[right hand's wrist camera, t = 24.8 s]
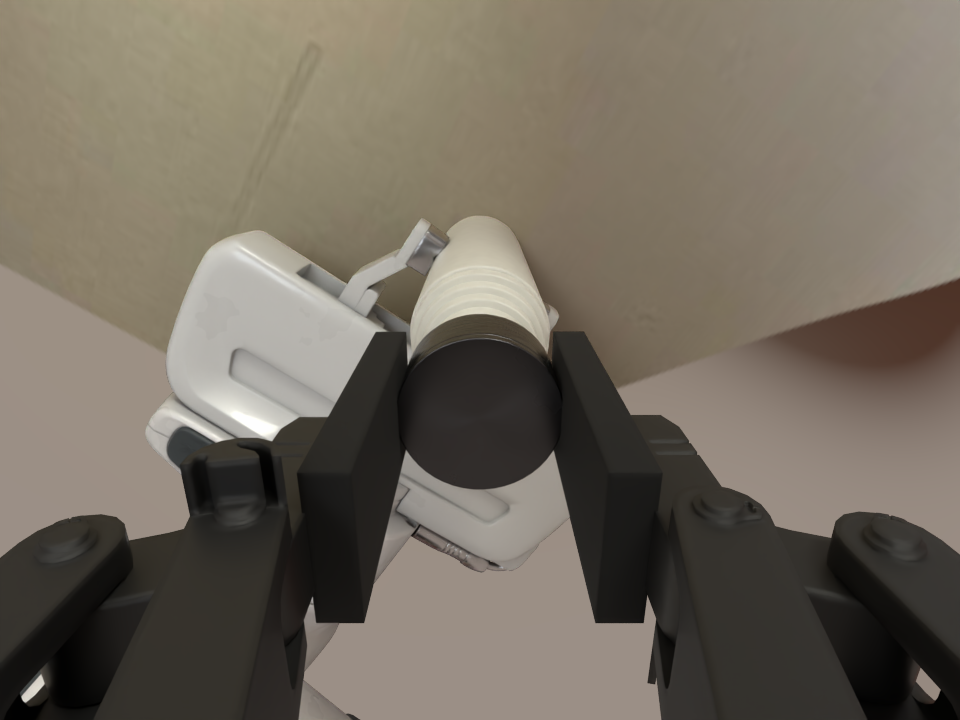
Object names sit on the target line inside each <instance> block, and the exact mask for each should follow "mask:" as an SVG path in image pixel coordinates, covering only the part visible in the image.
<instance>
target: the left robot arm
mask: <svg viewBox="0 0 960 720" xmlns="http://www.w3.org/2000/svg"><path fill="white" fill-rule="evenodd" d="M448 240H449V236H448V235H446V234H445V233H443V232H442V231H441V230H439V229H438V228H436V227H435V226H434V225H432V224H431V223H429V222H428V221H426V220H425V219H423V218H421V219H420V220H419V222H418V223H417V225H416V226H415V228H414V229H413V231H412V232H411V234H410V235H409V237H408V239H407V240H406V242H405V243H404V245H403V246H402V248H401V250H400V249H397V250H395V251H393V252H391V253H389V254H387V255H385V256H383V257H381V258H379V259H377V260H375V261H373V262H371V263H369V264H367V265H365V266H363V267H361V268H360V269H359V270H358V271H357V272H356V273H355V274H354V275H353V276H352V278H351V279H350V281H349V282H348V284H346V283H345V282H343V281H342V280H340V279H338V278H337V277H335V276H334V275H332V274H331V273H329V272H327V271H326V270H324V269H323V268H321V267H320V266H318V265H316V264H315V263H313V262H312V261H310V260H309V259H307V258H305V257H304V256H302V255H301V254H299V253H298V252H296V251H294V250H293V249H291V248H290V247H288V246H287V245H285V244H283V243H282V242H280V241H279V240H277V239H276V238H274V237H273V236H271V235H270V234H268V233H266V232H264V231H260V230H254V231H249V232H245V233H240V234H236V235H233V236H230V237H227V238H225V239H223V240H220V241H219V242H217V243H216V244H214V245H213V246H212V247H211V248H210V249H209V250H208V251H207V252H206V254H205V255H204V257H203V259H202V260H201V262H200V264H199V266H198V268H197V270H196V272H195V274H194V276H193V279H192V281H191V283H190V285H189V288H188V290H187V292H186V295H185V297H184V300H183V302H182V305H181V308H180V310H179V313H178V316H177V319H176V321H175V325H174V328H173V331H172V334H171V337H170V341H169V344H168V348H167V354H166V374H167V378H168V381H169V384H170V386H171V388H172V390H173V391H174V392H173V393H172V394H171V395H170V396H169V397H168V398H167V399H166V400H165V401H164V402H163V403H162V404H161V406H160V407H159V408H158V409H157V411H156V412H155V413H154V414H153V416H152V417H151V419H150V421H149V422H148V424H147V427H146V431H145V436H146V439H147V441H148V443H149V444H150V446H151V447H152V448H153V449H154V450H155V451H156V452H157V453H158V454H159V455H160V456H161V457H162V458H163V459H164V460H165V461H167V462H168V463H169V464H170V465H171V466H172V467H173V468H174V469H175V470H176V471H178V472H179V473H180V474H181V470H180V464H181V463H182V462H183V461H184V459H185V458H186V457H187V456H188V455H190V454H192V453H193V452H195V451H197V450H199V449H201V448H202V447H205V446H208V445H211V444H214V443H217V442H220V441H224V440H230V439H236V438H261V439H265V440H269V441H273V439H274V438H275V436H276V435H277V433H278V432H279V431H280V429H281V428H283V427H284V426H286V425H288V424H289V423H291V422H292V421H294V420H295V419H297V418H299V417H328V416H329V414H330V412H331V411H332V409H333V407H334V405H335V404H336V402H337V400H338V398H339V396H340V395H341V393H342V391H343V389H344V387H345V386H346V384H347V382H348V380H349V379H350V377H351V375H352V373H353V371H354V370H355V368H356V366H357V364H358V363H359V361H360V359H361V357H362V355H363V354H364V352H365V350H366V348H367V346H368V345H369V343H370V341H371V339H372V338H373V336H374V334H375V332H406V336H407V358H408V364H409V361H410V359H411V356H412V354H413V353H412V348H411V338H410V325H411V324H409V323H408V322H406V321H404V320H403V319H401V318H400V317H398V316H397V315H395V314H393V313H392V312H390V311H389V310H387V309H386V308H384V307H382V306H381V305H379V304H378V303H376V301H377V300H378V298H379V296H380V295H381V293H382V291H383V290H384V288H385V287H386V285H385V283H384V282H383V281H381V280H383V279H385V278H387V277H389V276H391V275H393V274H395V273H397V272H398V271H400V270H402V269H404V268H406V267H408V266H410V267H411V268H413V269H415V270H416V271H418V272H419V273H421V274H422V275H424V276H425V275H426V274H427V272H428V271H429V270H430V268H431V267H432V264H433V262H434V260H435V257H436V256H437V255H439V254H440V252H441V251H442V250H443V248H444V247H445V245H446V243H447V242H448ZM414 250H415V251H414ZM542 301H543V300H542ZM543 304H544V306H545V309H546V312H547V315H548V319H549V325H550V331H551V330H552V329H553V327H554V326H555V325H556V323H557V321H558V319H559V314H558V312H557V310H556V309H555V308H553V307H552V306H550V305H549V304H548V303H546V302H545V301H543ZM569 518H570V516H569V512H568V507H567V503H566V499H565V495H564V491H563V487H562V483H561V479H560V474H559V470H558V466H557V462H556V458H555V454H554V450H553V452H552V453H551V455H550V456H549V457H548V459H547V460H546V461H545V462H544V463H543V464H542V465H541V466H540V467H539V468H538V469H537V470H536V471H534V472H533V473H532V474H530V475H529V476H527V477H525V478H524V479H522V480H520V481H518V482H515V483H513V484H510V485H507V486H504V487H499V488H495V489H485V490H474V489H466V488H460V487H456V486H453V485H450V484H447V483H444V482H442V481H440V480H438V479H436V478H434V477H433V476H431V475H430V474H428V473H427V472H425V471H424V470H423V469H422V468H421V467H420V466H419V465H418V464H417V463H416V462H415V461H414V460H413V459H412V458H411V456H410V455H409V453H408V452H407V450H406V452H405V456H404V460H403V465H402V469H401V473H400V477H399V481H398V485H397V489H396V493H395V498H394V502H393V506H392V510H391V514H390V518H389V522H388V527H387V531H386V535H385V539H384V543H383V547H382V551H381V555H380V560H379V564H378V568H377V572H376V576H375V580H374V583H375V581H376V580H377V579H378V577H379V576H380V575H381V574H382V572H383V571H384V570H385V568H386V567H387V566H388V565H389V563H390V562H391V561H392V559H393V558H394V557H395V556H396V554H397V553H398V552H399V550H400V549H401V548H402V546H403V545H404V544H405V543H406V541H407V540H408V539H409V537H410V536H412V537H414V538H415V539H417V540H419V541H421V542H423V543H424V544H426V545H428V546H430V547H432V548H434V549H436V550H438V551H441V552H443V553H446V554H448V555H450V556H452V557H454V558H456V559H457V560H459V561H460V563H462V564H463V565H464V566H466V567H468V568H470V569H472V570H475V571H478V572H484V571H485V570H486V569H489V570H494V571H504V570H509V571H512V570H515V569H517V568H518V567H520V566H521V565H522V564H523V563H524V562H525V561H526V559H527V558H528V557H529V556H530V555H531V554H532V553H533V552H534V550H535V549H536V548H537V547H538V545H539V543H540V542H542V541H543V540H544V539H545V538H546V537H548V536H549V535H550V534H551V533H553V532H554V531H555V530H556V529H557V528H558V527H560V526H561V525H562V524H563V523H564V522H565V521H566V520H567V519H569ZM490 561H492V562H490ZM304 625H305V632H306V640H307V652H306V661H305V669H304V671H305V670H306V669H307V668H308V667H309V665H310V664H311V663H312V662H313V661H314V660H315V658H316V657H317V656H318V655H319V653H320V652H321V651H322V650H323V649H324V647H325V646H326V645H327V643H328V642H329V641H330V639H331V638H332V636H333V635H334V633H335V631H336V629H337V627H338V625H339V623H316V619H315V611H314V604H313V597H312V600H311V602H310V605H309V608H308V610H307V613H306V616H305V618H304ZM44 684H45V683H44V680H43V678H42V675H41V672H40V671H39V672H38V673H37V674H36V675H35V676H34V678H33V679H32V680H31V681H30V682H29V683H28V684H27V685H26V686H25V688H24V689H23V690H22V691H21V692H20V695H21V697H22V700H23V701H24V702H25V703H26V702H27V701H28V700H30V699H31V698H32V697H33V696H34V695H36V693H37V692H38V691H39V690H40V689H41V688H42V686H43V685H44ZM299 720H360V719H358V718H357V717H355V716H354V715H351V714H345V713H344V712H342V711H341V710H340V709H339V708H337V707H336V706H335V705H334V704H333V703H331V702H330V701H329V700H328V699H326V698H325V697H324V696H323V695H321V694H320V693H319V692H318V691H316V690H315V689H314V688H313V687H311V686H310V685H309V684H308V683H306V682H305V681H304V680H303V687H302V695H301V704H300V712H299Z"/></svg>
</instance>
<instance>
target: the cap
mask: <svg viewBox="0 0 960 720" xmlns="http://www.w3.org/2000/svg"><path fill="white" fill-rule="evenodd" d="M397 408H398V427H399V435H400V438H401V441H402V443H403V445H404V447H405V449H406V450H407V452H408V453H409V455H410V456H411V458H412V459H413V460H414V461H415V462H416V463H417V464H418V465H419V466H420V467H421V468H422V469H423V470H424V471H425V472H427V473H428V474H430V475H431V476H433V477H434V478H436V479H438V480H440V481H442V482H444V483H447V484H450V485H453V486H456V487H460V488H466V489H474V490H485V489H495V488H499V487H504V486H507V485H510V484H513V483H515V482H518V481H520V480H522V479H524V478H525V477H527V476H529V475H530V474H532V473H533V472H534V471H536V470H537V469H538V468H539V467H540V466H541V465H542V464H543V463H544V462H545V461H546V460H547V459H548V457H549V456H550V455H551V453H552V452H553V450H554V448H555V447H556V445H557V443H558V440H559V438H560V435H561V420H562V395H561V391H560V389H559V385H558V382H557V379H556V376H555V373H554V370H553V367H552V364H551V362H550V359H549V356H548V354H547V352H546V351H545V349H544V347H543V346H542V344H541V343H540V342H539V340H538V339H537V338H536V337H535V336H534V335H533V334H532V333H531V332H529V331H528V330H527V329H526V328H524V327H523V326H521V325H519V324H518V323H516V322H514V321H511V320H509V319H507V318H503V317H500V316H496V315H489V314H472V315H464V316H460V317H456V318H454V319H451V320H448V321H446V322H444V323H442V324H441V325H439V326H437V327H436V328H434V329H433V330H432V331H430V332H429V333H428V334H427V335H426V336H425V337H424V338H423V339H422V340H421V342H420V343H419V344H418V345H417V347H416V349H415V350H414V352H413V354H412V356H411V359H410V361H409V364H408V367H407V370H406V373H405V376H404V379H403V382H402V385H401V388H400V391H399V395H398V399H397Z"/></svg>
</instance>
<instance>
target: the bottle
mask: <svg viewBox="0 0 960 720" xmlns="http://www.w3.org/2000/svg"><path fill="white" fill-rule="evenodd" d="M446 235H448V236H449V240H448V242H447V243H446V245H445V247H444V248H443V250H442V251H441V252H440V254H439V255H437V256H436V257H435V260H434V262H433V264H432V267H431V269H430V271H429V274H428V276H427V279H426V281H425V284H424V286H423V289H422V291H421V294H420V296H419V299H418V301H417V304H416V306H415V308H414V311H413V315H412V318H411V325H410V338H411V348H412V353H413V352H414V350H415V349H416V347H417V345H418V344H419V343H420V342H421V340H422V339H423V338H424V337H425V336H426V335H427V334H428V333H429V332H430V331H432V330H433V329H434V328H436V327H437V326H439V325H441V324H442V323H444V322H446V321H448V320H451V319H454V318H456V317H460V316H464V315H472V314H489V315H496V316H500V317H503V318H507V319H509V320H511V321H514V322H516V323H518V324H519V325H521V326H523V327H524V328H526V329H527V330H528V331H529V332H531V333H532V334H533V335H534V336H535V337H536V338H537V339H538V340H539V342H540V343H541V344H542V346H543V347H544V349H545V351H546V352H547V353H548V348H549V337H550V325H549V319H548V315H547V312H546V309H545V306H544V304H543V301H542V299H541V296H540V294H539V291H538V289H537V286H536V284H535V281H534V279H533V276H532V274H531V272H530V269H529V267H528V264H527V262H526V259H525V257H524V254H523V252H522V249H521V247H520V244H519V242H518V240H517V238H516V236H515V234H514V233H513V231H512V230H511V229H510V228H509V227H508V226H507V225H506V224H504V223H503V222H501V221H499V220H497V219H495V218H492V217H488V216H472V217H468V218H465V219H462V220H461V221H459V222H457V223H456V224H454V225H453V226H452V227H451V228H450V229H449V230H448V231H447V233H446Z"/></svg>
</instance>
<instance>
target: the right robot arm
mask: <svg viewBox="0 0 960 720" xmlns="http://www.w3.org/2000/svg"><path fill="white" fill-rule="evenodd" d="M407 367H408V358H407V336H406V332H375V334H374V336H373V338H372V339H371V341H370V343H369V345H368V346H367V348H366V350H365V352H364V354H363V355H362V357H361V359H360V361H359V363H358V364H357V366H356V368H355V370H354V371H353V373H352V375H351V377H350V379H349V380H348V382H347V384H346V386H345V387H344V389H343V391H342V393H341V395H340V396H339V398H338V400H337V402H336V404H335V405H334V407H333V409H332V411H331V412H330V414H329V416H328V417H299V418H297V419H295V420H294V421H292V422H291V423H289V424H288V425H286V426H284V427H283V428H281V429H280V431H279V432H278V433H277V435H276V436H275V438H274V439H273V441H269V440H265V439H261V438H236V439H230V440H224V441H220V442H217V443H214V444H211V445H208V446H205V447H202V448H201V449H199V450H197V451H195V452H193V453H192V454H190V455H188V456H187V457H186V458H185V459H184V461H183V462H182V463H181V464H180V470H181V475H182V479H183V484H184V489H185V494H186V499H187V503H188V508H189V513H190V518H189V520H188V522H187V524H186V526H185V528H184V529H182V530H178V531H174V532H170V533H166V534H161V535H155V536H150V537H145V538H140V539H135V540H130V541H129V539H128V536H127V532H126V528H125V524H124V523H123V522H122V521H120V520H119V519H118V518H117V517H113V516H107V515H102V514H100V515H87V516H77V517H72V518H71V519H69V518H68V519H64V520H61V521H58V522H56V523H54V524H53V525H50V526H48V527H46V528H43V529H41V530H39V531H37V532H35V533H34V534H32V535H31V536H29V537H27V538H26V539H24V540H23V541H21V542H20V543H18V544H17V545H16V546H15V547H13V548H12V549H11V550H10V551H8V552H7V553H6V554H5V555H3V556H2V557H1V558H0V720H299V712H300V704H301V695H302V687H303V678H304V669H305V661H306V652H307V640H306V632H305V625H304V618H305V616H306V613H307V610H308V608H309V605H310V602H311V600H312V597H313V604H314V611H315V619H316V623H364V621H365V617H366V613H367V609H368V605H369V601H370V597H371V593H372V588H373V584H374V580H375V576H376V572H377V568H378V564H379V560H380V555H381V551H382V547H383V543H384V539H385V535H386V531H387V527H388V522H389V518H390V514H391V510H392V506H393V502H394V498H395V493H396V489H397V485H398V481H399V477H400V473H401V469H402V465H403V460H404V456H405V452H406V449H405V447H404V445H403V443H402V441H401V438H400V435H399V427H398V408H397V399H398V395H399V391H400V388H401V385H402V382H403V379H404V376H405V373H406V370H407ZM552 367H553V370H554V373H555V376H556V379H557V382H558V385H559V389H560V391H561V395H562V420H561V435H560V438H559V440H558V443H557V445H556V447H555V448H554V454H555V458H556V462H557V466H558V470H559V474H560V479H561V483H562V487H563V491H564V495H565V499H566V503H567V507H568V512H569V516H570V520H571V524H572V528H573V532H574V536H575V540H576V544H577V549H578V553H579V557H580V561H581V565H582V569H583V573H584V577H585V582H586V586H587V590H588V594H589V598H590V602H591V606H592V610H593V615H594V619H595V623H644V616H645V608H646V600H647V595H648V598H649V600H650V603H651V606H652V608H653V611H654V614H655V616H656V625H655V633H654V640H653V647H652V654H651V661H650V669H649V676H648V683H650V684H655V682H656V677H657V685H658V694H659V702H660V711H661V719H662V720H960V554H958V553H957V552H956V551H954V550H953V549H952V548H951V547H950V546H948V545H947V544H946V543H944V542H943V541H942V540H941V539H939V538H937V537H936V536H934V535H933V534H931V533H930V532H928V531H926V530H925V529H923V528H921V527H919V526H916V525H914V524H912V523H909V522H907V521H906V520H904V519H902V518H898V517H895V516H889V515H887V514H882V513H869V512H855V513H849V514H844V515H843V516H842V517H840V518H839V519H838V520H837V521H836V522H835V526H834V530H833V534H832V538H828V537H823V536H817V535H812V534H807V533H802V532H797V531H792V530H788V529H784V528H780V527H776V526H775V525H774V523H773V521H772V519H771V517H770V515H769V514H768V512H767V511H766V510H765V509H764V507H763V506H762V505H761V504H760V503H758V502H756V501H755V500H753V499H752V498H750V497H749V496H747V495H745V494H742V493H740V492H737V491H735V490H732V489H729V488H724V487H721V485H720V484H719V482H718V481H717V480H716V478H715V477H714V475H713V474H712V473H711V471H710V470H709V468H708V467H707V466H706V464H705V463H704V461H703V460H702V459H701V457H700V456H699V455H697V451H696V450H695V449H694V447H693V446H692V444H691V443H689V440H688V439H687V437H686V436H685V435H684V433H683V432H682V430H681V429H680V428H679V427H678V426H677V425H675V424H674V423H672V422H670V421H669V420H667V419H666V418H664V417H663V416H661V415H630V413H629V411H628V410H627V408H626V406H625V404H624V402H623V401H622V399H621V397H620V395H619V394H618V392H617V390H616V388H615V386H614V385H613V383H612V381H611V379H610V377H609V376H608V374H607V372H606V370H605V369H604V367H603V365H602V363H601V361H600V360H599V358H598V356H597V354H596V353H595V351H594V349H593V347H592V345H591V344H590V342H589V340H588V338H587V336H586V335H585V333H584V332H553V350H552ZM920 668H922V669H923V671H924V672H925V673H926V674H927V675H928V676H929V677H930V678H931V679H932V680H933V682H934V683H935V684H936V685H937V686H938V687H939V688H940V689H941V691H940V693H939V696H938V698H937V699H936V701H935V700H933V699H932V698H931V697H930V696H929V695H928V694H926V693H925V692H924V690H923V689H922V688H921V687H920V686H919V685H918V684H917V683H916V679H917V676H918V673H919V671H920ZM39 671H40V672H41V675H42V678H43V680H44V683H45V684H44V685H43V686H42V688H41V689H40V690H39V691H38V692H37V693H36V695H34V696H33V697H32V698H31V699H30V700H28V701H27V702H26V703H25V702H24V701H23V700H22V697H21V695H20V692H21V691H22V690H23V689H24V688H25V686H26V685H27V684H28V683H29V682H30V681H31V680H32V679H33V678H34V676H35V675H36V674H37V673H38V672H39Z"/></svg>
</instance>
